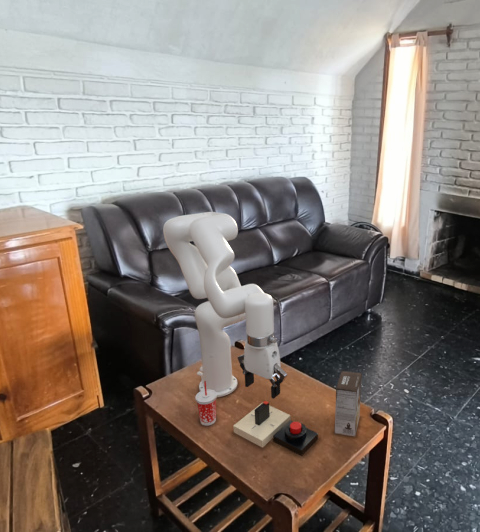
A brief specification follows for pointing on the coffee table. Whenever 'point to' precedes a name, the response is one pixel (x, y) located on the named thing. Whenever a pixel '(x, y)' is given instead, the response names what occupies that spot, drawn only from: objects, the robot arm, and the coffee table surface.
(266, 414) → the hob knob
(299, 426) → the power button
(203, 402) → the beverage cup
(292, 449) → the power box
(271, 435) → the panel
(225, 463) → the coffee table surface
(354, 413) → the coffee box
